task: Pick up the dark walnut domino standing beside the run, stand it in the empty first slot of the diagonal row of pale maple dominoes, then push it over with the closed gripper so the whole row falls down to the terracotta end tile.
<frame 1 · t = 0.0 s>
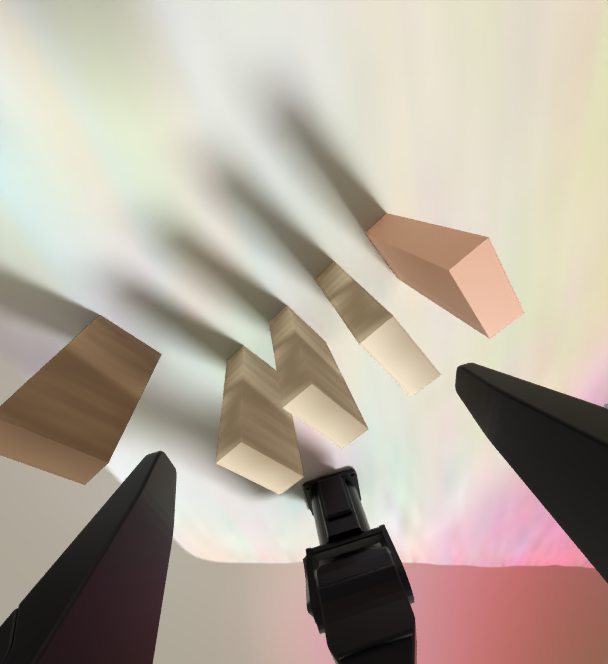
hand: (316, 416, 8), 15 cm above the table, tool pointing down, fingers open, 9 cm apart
tile 2: (256, 369, 25), on the table
tile 3: (298, 332, 24), on the table
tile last: (393, 248, 22), on the table
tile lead: (124, 344, 22), on the table
tile 4: (343, 292, 23), on the table
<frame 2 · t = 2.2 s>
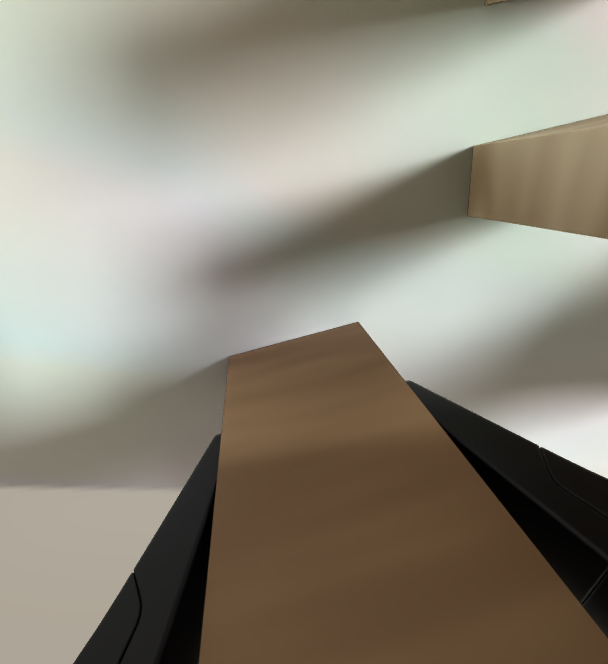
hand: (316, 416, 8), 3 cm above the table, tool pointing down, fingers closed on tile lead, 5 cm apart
tile 2: (542, 165, 9), on the table
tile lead: (300, 360, 11), on the table, touching gripper
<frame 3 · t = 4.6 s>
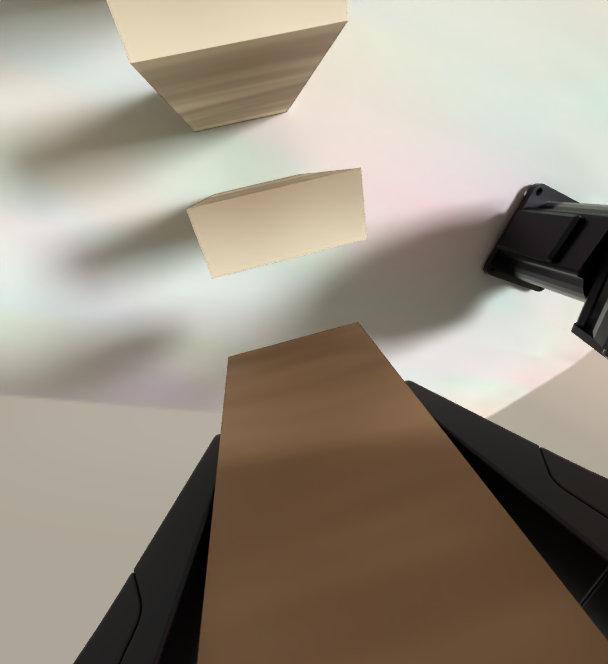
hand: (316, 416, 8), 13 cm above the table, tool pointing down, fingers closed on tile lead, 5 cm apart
tile 2: (262, 202, 17), on the table
tile 3: (235, 97, 15), on the table
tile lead: (299, 360, 11), point 10 cm above the table, touching gripper
when the fingers open (4 cm above the table, at t = 7.3 s): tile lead stays where it is, on the table.
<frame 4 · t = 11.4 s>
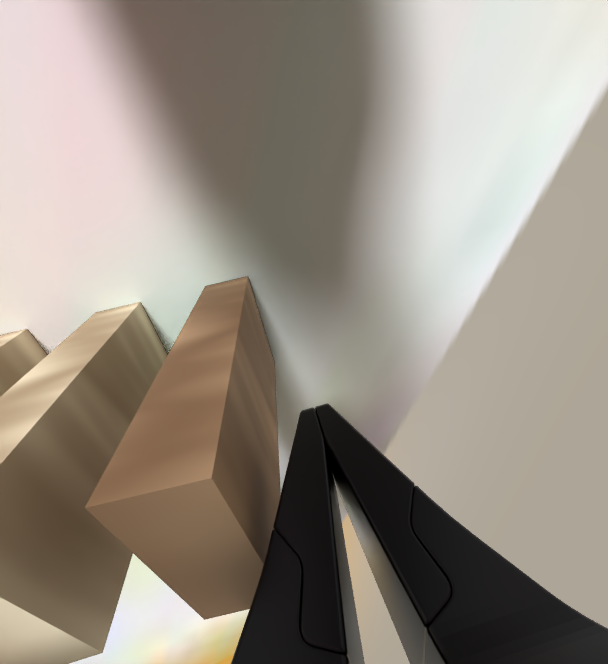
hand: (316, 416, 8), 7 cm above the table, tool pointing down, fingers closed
tile 2: (143, 352, 14), on the table
tile 3: (40, 378, 14), on the table
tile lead: (242, 327, 14), on the table, touching gripper
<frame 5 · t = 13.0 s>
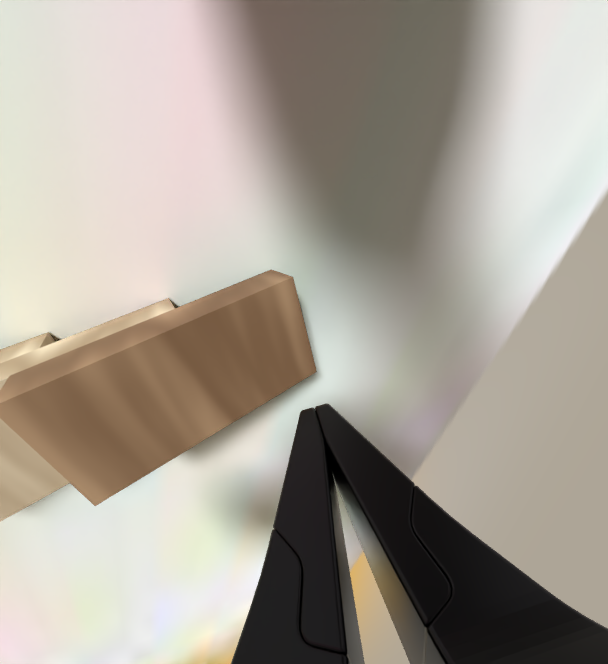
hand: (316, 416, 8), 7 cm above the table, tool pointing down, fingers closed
tile 2: (195, 350, 13), point 1 cm above the table, tilted 68°, touching tile 3
tile 3: (79, 384, 13), point 1 cm above the table, tilted 68°, touching tile 2, tile 4
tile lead: (294, 322, 14), point 1 cm above the table, tilted 67°
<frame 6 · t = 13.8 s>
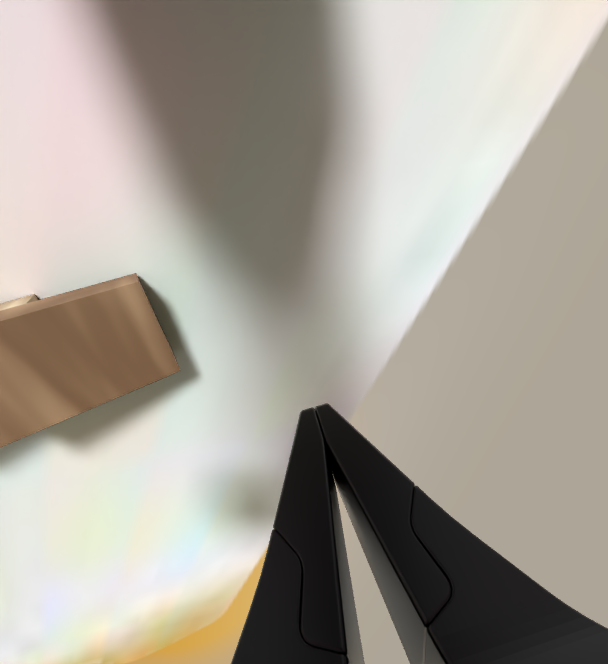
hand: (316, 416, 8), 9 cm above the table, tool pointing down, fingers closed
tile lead: (158, 323, 15), point 1 cm above the table, tilted 68°, touching tile 2
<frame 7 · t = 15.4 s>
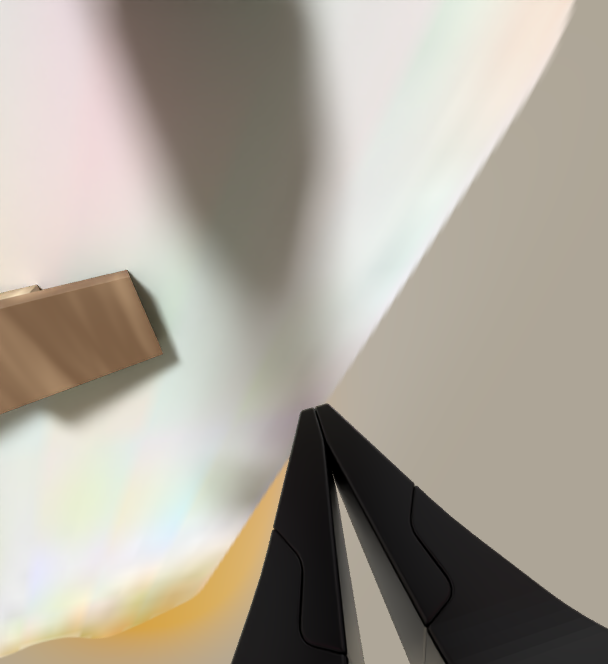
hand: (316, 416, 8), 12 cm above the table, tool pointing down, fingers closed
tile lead: (145, 313, 17), point 1 cm above the table, tilted 67°
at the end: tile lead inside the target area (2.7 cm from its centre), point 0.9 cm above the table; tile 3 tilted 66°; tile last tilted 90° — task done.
